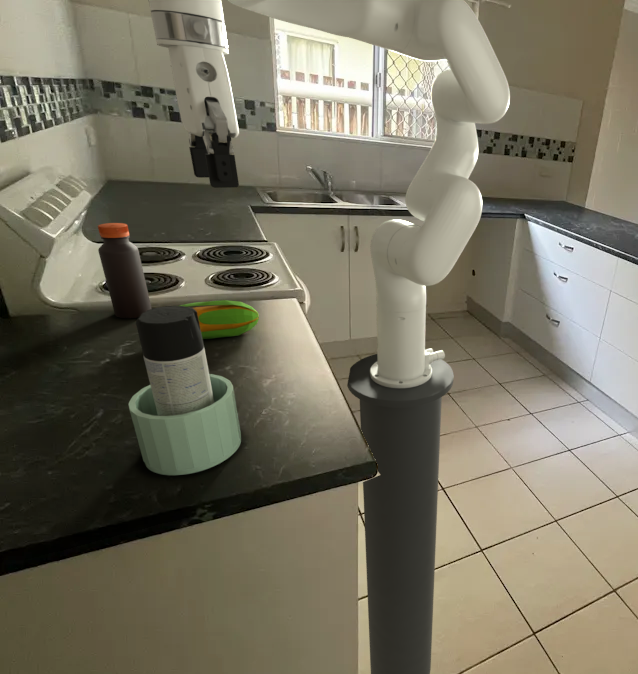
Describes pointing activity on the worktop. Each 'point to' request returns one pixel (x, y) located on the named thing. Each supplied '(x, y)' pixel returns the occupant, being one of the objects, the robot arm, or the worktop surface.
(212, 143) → the robot arm
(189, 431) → the cup
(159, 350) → the spray can
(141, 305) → the bottle
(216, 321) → the corn
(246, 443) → the worktop surface
